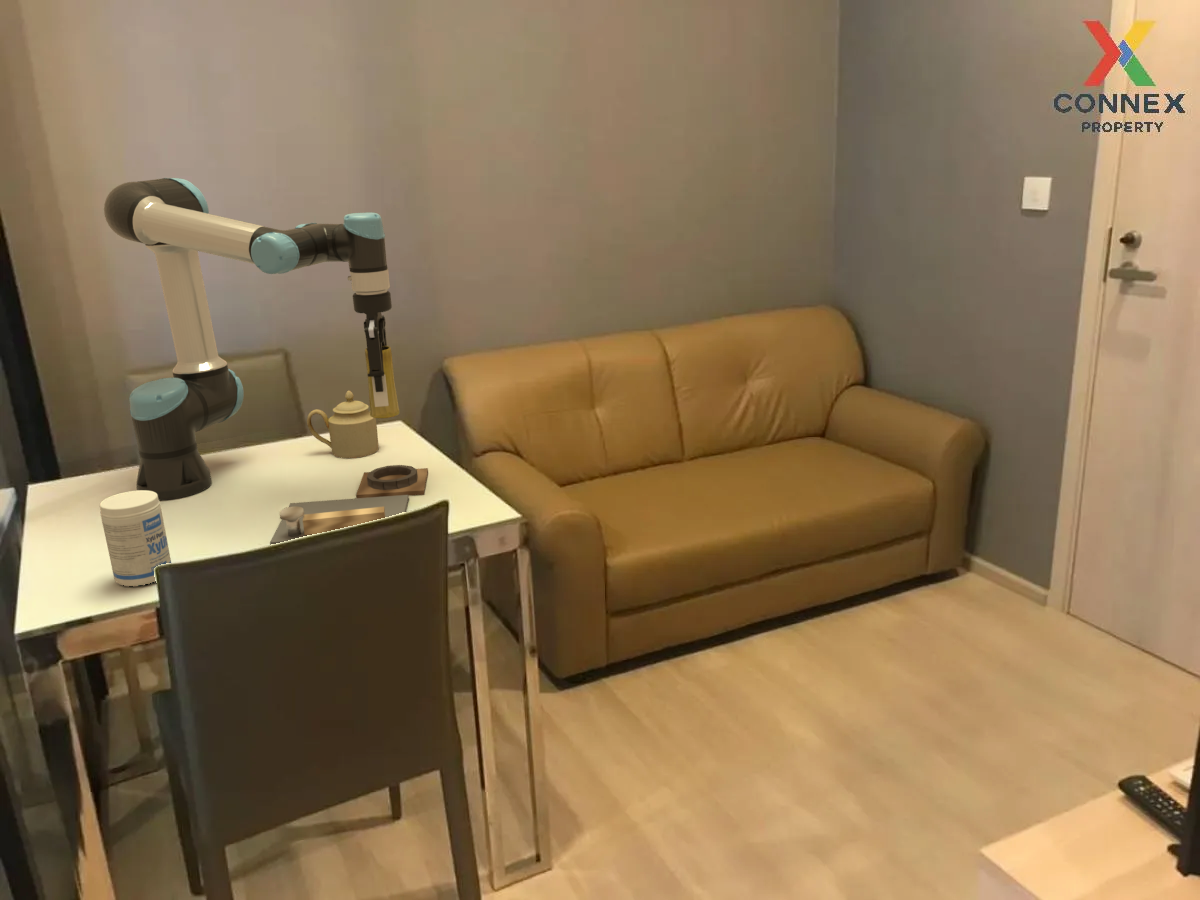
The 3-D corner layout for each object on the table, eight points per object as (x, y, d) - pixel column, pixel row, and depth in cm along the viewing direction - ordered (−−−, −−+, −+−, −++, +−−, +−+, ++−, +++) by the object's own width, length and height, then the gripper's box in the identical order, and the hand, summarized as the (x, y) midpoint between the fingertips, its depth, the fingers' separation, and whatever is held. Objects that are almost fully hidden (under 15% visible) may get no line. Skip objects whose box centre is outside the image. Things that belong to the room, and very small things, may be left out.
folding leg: (281, 539, 188) (277, 516, 186) (283, 530, 192) (280, 507, 191) (385, 528, 191) (382, 505, 190) (385, 519, 195) (383, 497, 194)
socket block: (356, 499, 209) (354, 486, 209) (364, 476, 223) (363, 464, 222) (424, 494, 211) (422, 482, 210) (428, 472, 224) (427, 460, 223)
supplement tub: (168, 584, 174) (152, 505, 169) (109, 592, 172) (92, 512, 167) (177, 561, 183) (162, 486, 178) (121, 568, 181) (105, 492, 176)
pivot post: (287, 537, 189) (284, 519, 188) (289, 532, 191) (286, 514, 190) (300, 536, 189) (297, 518, 188) (302, 531, 192) (299, 513, 190)
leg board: (270, 547, 188) (269, 542, 187) (291, 507, 206) (290, 503, 206) (400, 537, 190) (399, 532, 189) (408, 499, 208) (408, 494, 208)
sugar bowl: (326, 465, 231) (318, 402, 226) (309, 454, 239) (301, 393, 235) (386, 451, 239) (380, 390, 234) (368, 440, 247) (361, 381, 243)
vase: (403, 410, 214) (396, 344, 209) (394, 418, 208) (387, 351, 204) (375, 410, 215) (368, 345, 210) (366, 419, 209) (358, 351, 204)
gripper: (358, 285, 211) (370, 391, 219) (345, 300, 194) (359, 415, 201) (394, 283, 212) (405, 389, 219) (385, 298, 194) (397, 413, 202)
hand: (383, 401), depth 210 cm, fingers closed on vase, 6 cm apart
